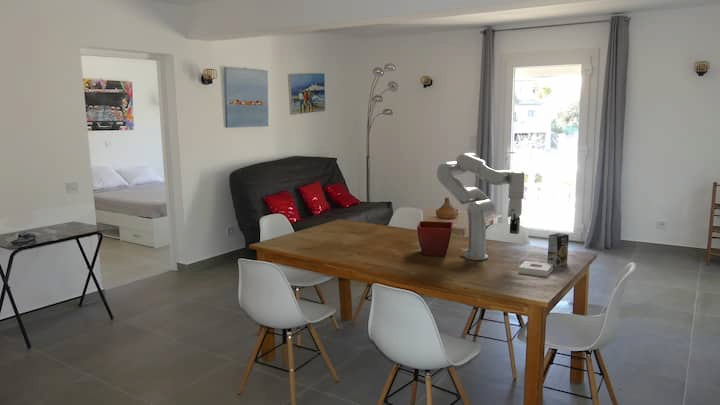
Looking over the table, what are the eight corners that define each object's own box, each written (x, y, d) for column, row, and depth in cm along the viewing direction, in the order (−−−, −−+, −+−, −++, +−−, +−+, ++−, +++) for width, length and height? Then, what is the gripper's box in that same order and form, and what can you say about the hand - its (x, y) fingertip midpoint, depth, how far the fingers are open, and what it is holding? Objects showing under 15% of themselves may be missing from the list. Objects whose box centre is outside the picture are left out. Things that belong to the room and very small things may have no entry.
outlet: (518, 272, 278) (518, 267, 278) (524, 266, 290) (525, 260, 290) (547, 276, 271) (547, 270, 271) (552, 269, 283) (553, 264, 283)
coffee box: (557, 267, 289) (558, 236, 286) (546, 264, 294) (548, 234, 291) (567, 264, 294) (569, 234, 291) (557, 262, 299) (558, 232, 297)
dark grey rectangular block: (509, 233, 290) (510, 218, 289) (511, 232, 294) (512, 217, 292) (517, 234, 288) (518, 219, 287) (519, 232, 292) (519, 217, 290)
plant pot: (450, 258, 308) (451, 228, 306) (416, 256, 312) (416, 227, 309) (452, 250, 327) (452, 222, 324) (419, 248, 330) (420, 221, 328)
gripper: (512, 192, 297) (511, 226, 300) (504, 196, 282) (502, 232, 285) (527, 193, 293) (525, 228, 296) (519, 197, 279) (517, 233, 282)
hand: (514, 229), depth 291 cm, fingers closed on dark grey rectangular block, 4 cm apart
